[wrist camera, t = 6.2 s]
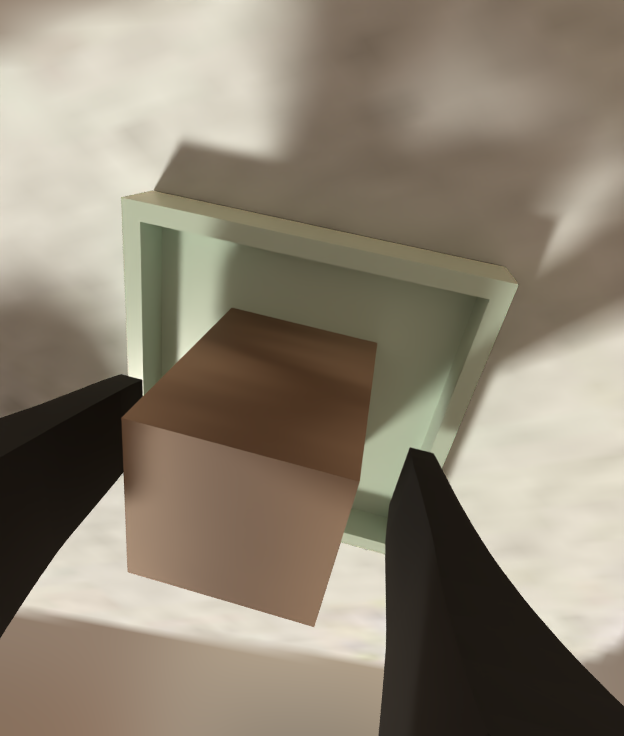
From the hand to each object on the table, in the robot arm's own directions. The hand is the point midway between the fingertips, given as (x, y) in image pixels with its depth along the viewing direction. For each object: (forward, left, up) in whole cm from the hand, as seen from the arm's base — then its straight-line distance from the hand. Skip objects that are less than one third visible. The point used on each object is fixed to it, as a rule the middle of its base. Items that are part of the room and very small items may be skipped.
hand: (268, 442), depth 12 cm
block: (0, 0, -3) cm, 3 cm away
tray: (0, 0, -3) cm, 3 cm away
